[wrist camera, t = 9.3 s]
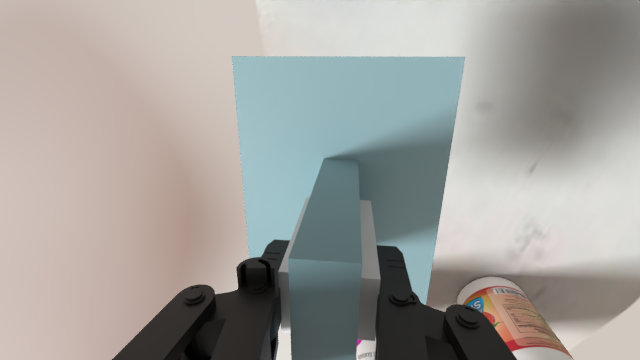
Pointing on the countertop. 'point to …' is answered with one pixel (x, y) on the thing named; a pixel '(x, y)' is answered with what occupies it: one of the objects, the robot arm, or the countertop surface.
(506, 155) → the countertop surface
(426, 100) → the lid
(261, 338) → the robot arm
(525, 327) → the fruit juice
